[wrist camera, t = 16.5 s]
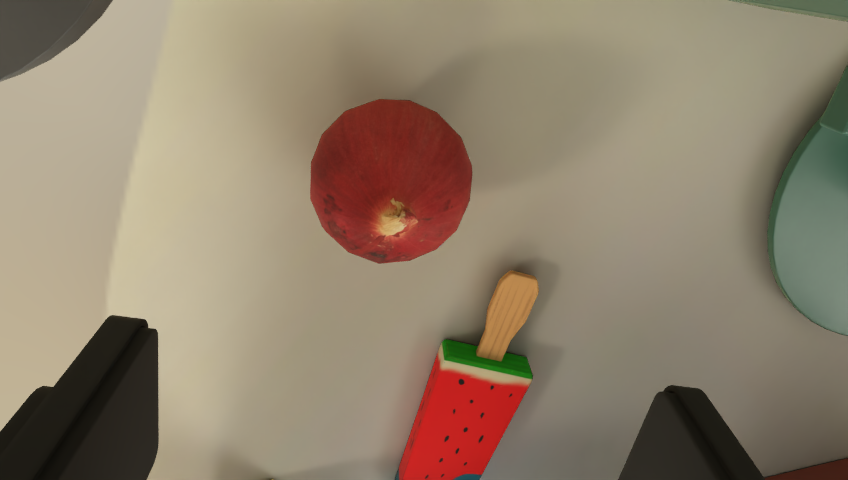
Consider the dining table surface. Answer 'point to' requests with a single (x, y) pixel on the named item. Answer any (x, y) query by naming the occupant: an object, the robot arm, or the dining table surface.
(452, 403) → the popsicle
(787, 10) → the green cooking pot
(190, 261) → the dining table surface
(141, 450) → the robot arm
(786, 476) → the bucket
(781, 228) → the lid
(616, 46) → the dining table surface
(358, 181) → the onion
